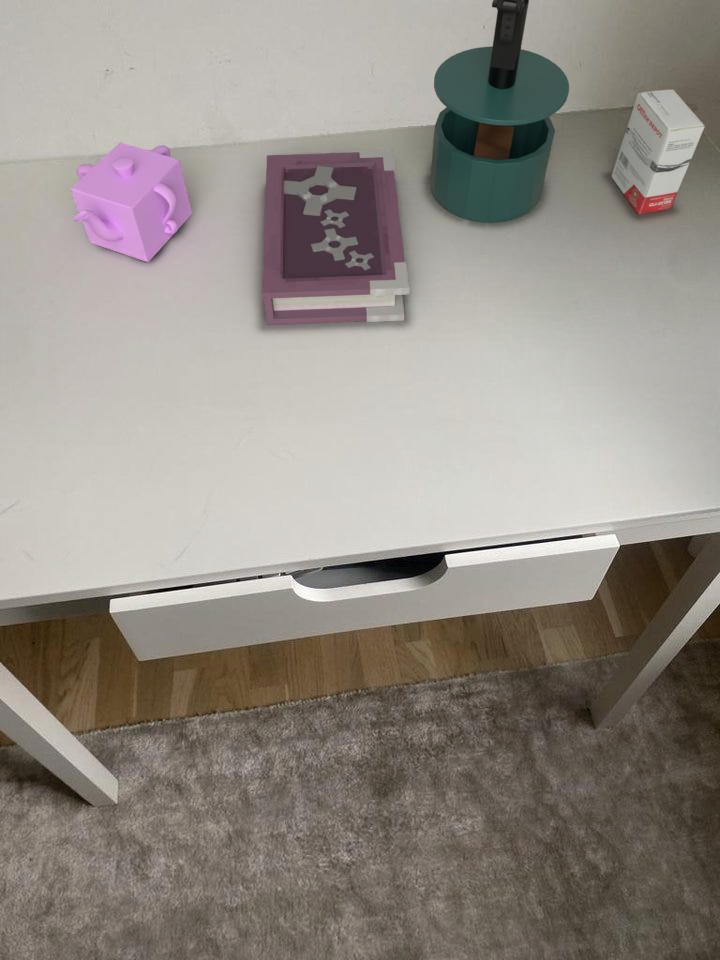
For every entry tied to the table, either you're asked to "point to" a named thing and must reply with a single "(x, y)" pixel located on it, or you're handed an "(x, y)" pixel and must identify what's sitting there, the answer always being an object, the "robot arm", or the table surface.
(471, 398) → the table surface
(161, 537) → the table surface
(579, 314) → the table surface
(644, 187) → the ink box
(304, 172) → the book
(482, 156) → the block
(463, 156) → the tin
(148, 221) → the teapot
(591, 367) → the table surface
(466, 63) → the lid
